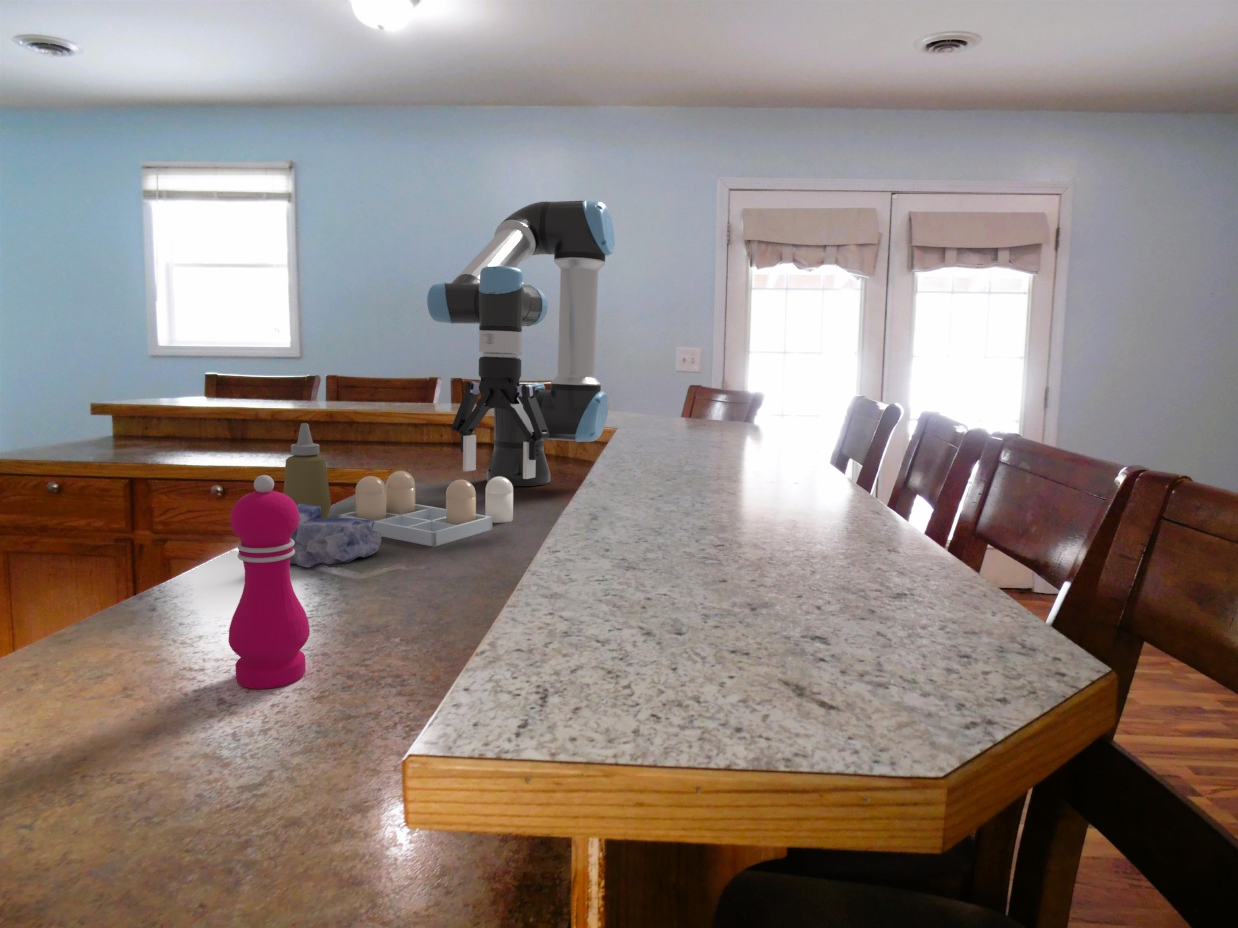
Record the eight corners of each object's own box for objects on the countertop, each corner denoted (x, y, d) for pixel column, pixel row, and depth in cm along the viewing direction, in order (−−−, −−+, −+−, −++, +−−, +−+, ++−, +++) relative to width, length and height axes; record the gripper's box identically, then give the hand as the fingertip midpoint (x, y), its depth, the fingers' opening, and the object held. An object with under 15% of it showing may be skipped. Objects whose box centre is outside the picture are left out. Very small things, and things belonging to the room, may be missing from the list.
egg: (496, 519, 148) (497, 473, 147) (518, 523, 146) (518, 476, 145) (479, 524, 144) (479, 476, 143) (501, 528, 142) (501, 479, 140)
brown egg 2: (401, 515, 146) (400, 468, 145) (421, 518, 144) (420, 471, 142) (380, 519, 142) (379, 471, 140) (401, 523, 139) (400, 474, 138)
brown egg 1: (372, 521, 140) (371, 473, 139) (392, 525, 137) (392, 476, 136) (349, 527, 136) (348, 476, 134) (370, 531, 133) (369, 479, 132)
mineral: (266, 509, 110) (293, 491, 120) (263, 573, 112) (289, 550, 122) (371, 523, 111) (389, 504, 121) (365, 586, 113) (383, 562, 123)
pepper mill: (224, 671, 78) (214, 472, 75) (300, 656, 83) (294, 467, 80) (238, 698, 73) (228, 484, 70) (319, 681, 77) (313, 478, 74)
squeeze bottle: (315, 532, 135) (312, 427, 132) (272, 528, 136) (268, 424, 134) (340, 522, 143) (338, 422, 140) (300, 518, 144) (297, 420, 141)
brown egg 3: (459, 525, 139) (459, 476, 138) (481, 529, 137) (481, 479, 135) (439, 530, 135) (439, 480, 134) (462, 535, 132) (462, 483, 131)
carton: (401, 517, 148) (400, 501, 147) (492, 533, 137) (492, 516, 137) (338, 532, 135) (338, 514, 135) (434, 551, 125) (433, 532, 124)
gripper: (432, 353, 143) (432, 469, 146) (545, 357, 131) (543, 484, 134) (460, 354, 150) (459, 465, 152) (570, 358, 138) (567, 478, 140)
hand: (498, 474), depth 143 cm, fingers open, 13 cm apart
